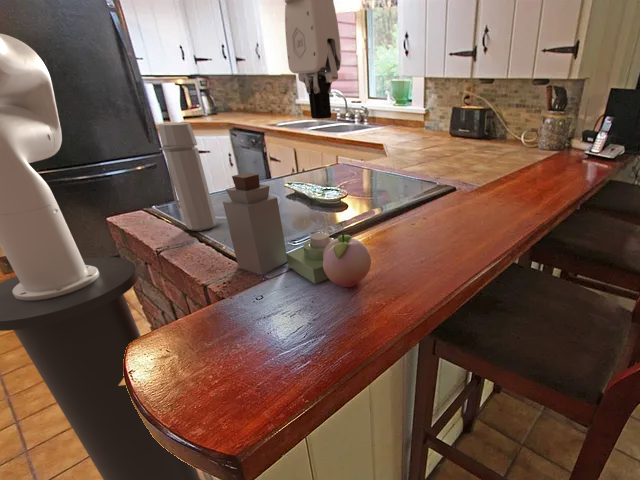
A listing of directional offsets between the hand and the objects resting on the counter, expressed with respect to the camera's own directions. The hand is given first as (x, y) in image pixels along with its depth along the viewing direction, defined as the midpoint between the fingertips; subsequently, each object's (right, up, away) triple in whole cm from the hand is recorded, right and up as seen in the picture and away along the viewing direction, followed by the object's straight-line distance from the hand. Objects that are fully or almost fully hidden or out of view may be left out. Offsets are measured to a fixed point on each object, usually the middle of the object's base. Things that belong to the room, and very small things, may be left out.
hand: (321, 117), depth 65 cm
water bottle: (-38, -17, +29) cm, 51 cm away
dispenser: (-1, -27, +7) cm, 28 cm away
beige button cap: (-1, -23, +5) cm, 23 cm away
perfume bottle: (-14, -27, +8) cm, 31 cm away
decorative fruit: (+5, -30, 0) cm, 31 cm away
